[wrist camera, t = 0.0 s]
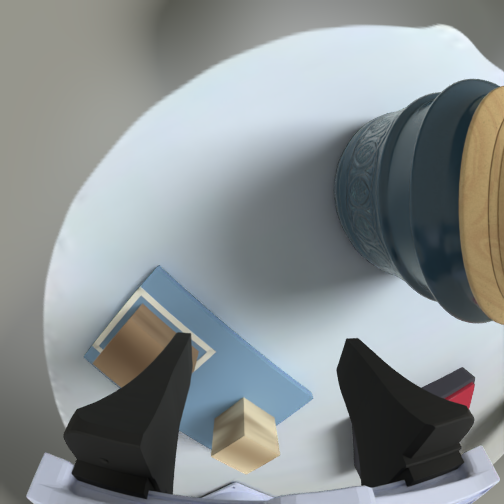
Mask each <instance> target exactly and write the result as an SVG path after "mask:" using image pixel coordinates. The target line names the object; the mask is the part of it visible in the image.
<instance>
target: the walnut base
mask: <svg viewBox="0 0 504 504" xmlns="http://www.w3.org/2000/svg"><path fill="white" fill-rule="evenodd" d="M175 334H176V332H175V331H173V330H172V329H171V328H170V327H169V326H168V325H166V324H165V323H164V322H163V321H162V320H161V319H160V318H158V317H157V316H156V315H155V314H154V313H153V312H152V311H151V310H149V309H148V308H147V307H146V306H145V305H144V304H143V303H142V304H141V306H140V307H139V308H138V309H137V310H136V311H135V313H134V314H133V315H132V316H131V317H130V318H129V319H128V321H127V322H126V323H125V324H124V325H123V327H122V328H121V329H120V330H119V331H118V332H117V334H116V335H115V336H114V337H113V338H112V340H111V341H110V342H109V343H108V344H107V346H106V347H105V348H104V349H103V351H102V352H101V353H100V354H99V356H98V357H97V358H96V360H95V361H94V362H93V363H92V364H93V365H94V366H96V367H97V368H98V369H99V370H100V371H101V372H103V373H104V374H105V375H106V376H107V377H109V378H110V379H111V380H112V381H113V382H115V383H116V384H117V385H118V386H120V387H121V388H122V387H123V386H125V385H126V384H127V383H129V382H130V381H132V380H133V379H134V378H135V377H137V376H138V375H139V374H140V373H141V372H142V371H143V370H144V369H145V368H146V367H147V366H148V365H150V364H151V363H152V362H153V361H154V359H155V358H156V357H157V356H158V355H159V354H160V353H161V352H162V351H163V349H164V348H165V347H166V346H167V345H168V343H169V342H170V341H171V339H172V338H173V337H174V335H175ZM198 353H199V351H198V350H197V349H195V348H194V347H193V346H192V362H193V368H192V373H193V372H194V370H195V366H196V361H197V357H198Z"/></svg>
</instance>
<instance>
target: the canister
mask: <svg viewBox="0 0 504 504" xmlns="http://www.w3.org/2000/svg"><path fill="white" fill-rule="evenodd" d="M334 193H335V204H336V209H337V213H338V217H339V220H340V223H341V225H342V227H343V229H344V231H345V233H346V235H347V237H348V238H349V240H350V242H351V243H352V245H353V246H354V247H355V249H356V250H357V251H358V252H359V253H360V254H361V255H362V256H363V257H364V258H365V259H366V260H367V261H368V262H370V263H371V264H373V265H374V266H376V267H377V268H379V269H381V270H383V271H385V272H387V273H390V274H393V275H395V276H397V277H399V278H400V279H402V280H404V281H405V282H406V283H407V284H408V285H409V286H410V287H411V288H412V289H413V290H415V291H416V292H417V293H419V294H420V295H422V296H424V297H426V298H428V299H430V300H433V301H436V302H438V303H439V304H440V305H441V306H442V307H443V308H444V309H445V310H446V311H447V312H448V313H449V314H450V315H452V316H454V317H455V318H457V319H459V320H461V321H465V322H469V323H486V322H490V321H495V322H497V323H499V324H502V325H504V86H501V87H500V86H498V85H496V84H494V83H492V82H489V81H485V80H480V79H466V80H461V81H458V82H456V83H454V84H452V85H450V86H449V87H447V88H446V89H445V90H443V91H442V92H438V93H432V94H428V95H425V96H422V97H420V98H418V99H417V100H415V101H414V102H412V103H411V104H410V105H408V106H407V107H406V108H403V109H401V110H399V111H397V112H391V113H387V114H384V115H382V116H379V117H377V118H375V119H373V120H372V121H370V122H368V123H367V124H366V125H364V126H363V127H362V128H361V129H360V130H359V131H358V132H357V133H356V134H355V135H354V136H353V138H352V139H351V140H350V142H349V143H348V145H347V146H346V148H345V150H344V152H343V154H342V156H341V158H340V160H339V164H338V167H337V171H336V176H335V187H334Z"/></svg>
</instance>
